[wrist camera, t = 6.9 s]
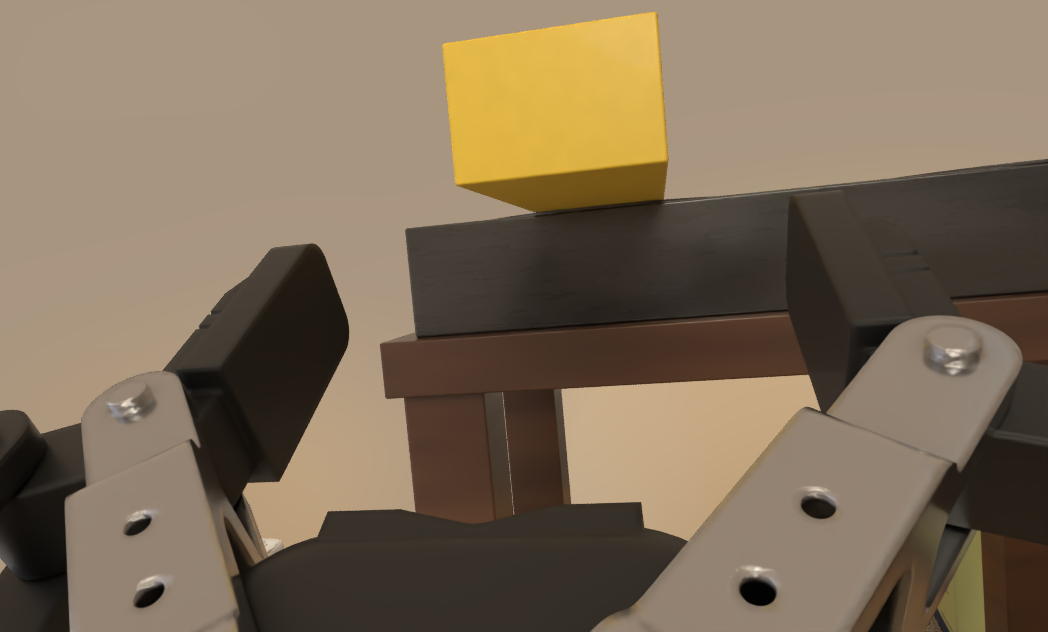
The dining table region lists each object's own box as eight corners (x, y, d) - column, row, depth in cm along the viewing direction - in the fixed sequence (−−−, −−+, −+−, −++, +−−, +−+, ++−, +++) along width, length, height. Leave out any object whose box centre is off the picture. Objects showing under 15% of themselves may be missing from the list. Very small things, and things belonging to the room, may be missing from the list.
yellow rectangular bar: (668, 161, 15) (657, 10, 14) (454, 185, 16) (441, 43, 15) (661, 221, 41) (657, 167, 41) (582, 228, 42) (578, 176, 42)
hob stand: (1407, 1192, 22) (1398, 93, 20) (454, 1073, 28) (364, 207, 25) (1053, 750, 42) (1029, 173, 39) (538, 733, 47) (492, 228, 45)
